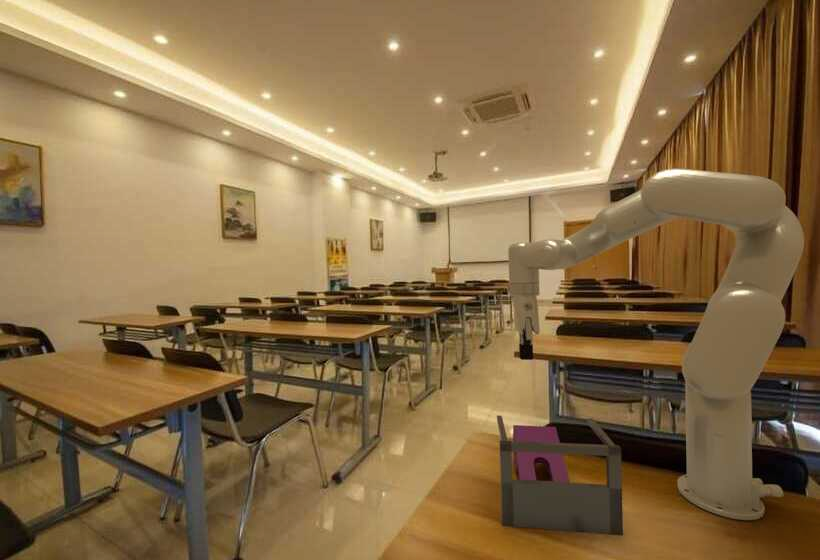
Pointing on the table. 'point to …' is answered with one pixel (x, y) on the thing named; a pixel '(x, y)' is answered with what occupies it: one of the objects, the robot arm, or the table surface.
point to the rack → (562, 490)
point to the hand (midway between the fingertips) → (526, 358)
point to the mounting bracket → (529, 459)
